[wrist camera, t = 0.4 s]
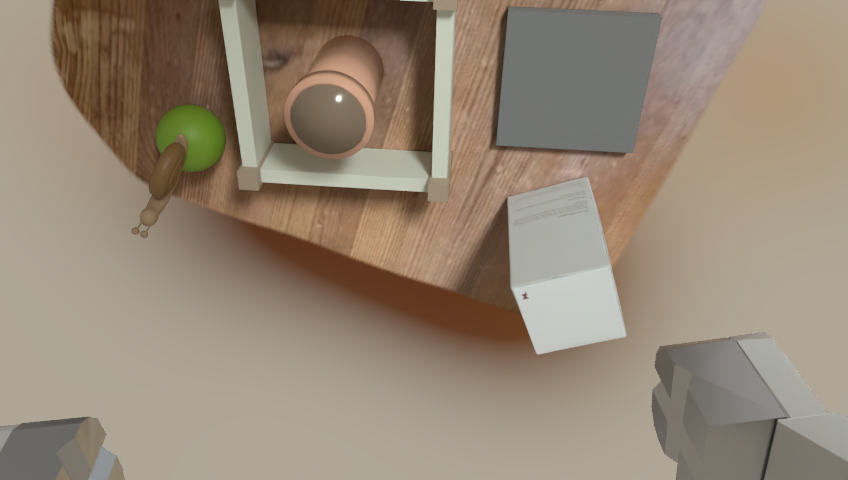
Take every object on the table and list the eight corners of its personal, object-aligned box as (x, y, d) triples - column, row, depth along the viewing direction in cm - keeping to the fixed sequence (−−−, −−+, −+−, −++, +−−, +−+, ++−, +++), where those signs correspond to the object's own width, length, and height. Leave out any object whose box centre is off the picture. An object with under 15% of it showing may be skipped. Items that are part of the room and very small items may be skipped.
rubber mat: (508, 6, 53) (508, 10, 52) (659, 13, 53) (661, 17, 52) (496, 139, 60) (496, 145, 59) (630, 147, 59) (632, 152, 58)
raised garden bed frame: (230, -47, 52) (206, -25, 48) (461, -37, 52) (458, -14, 47) (257, 156, 62) (239, 189, 58) (451, 167, 61) (447, 202, 57)
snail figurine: (162, 146, 62) (101, 224, 53) (177, 83, 59) (114, 154, 49) (222, 169, 63) (173, 250, 54) (240, 109, 60) (191, 184, 50)
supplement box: (527, 260, 67) (533, 357, 56) (505, 194, 63) (507, 286, 52) (607, 242, 65) (628, 339, 54) (590, 173, 61) (610, 265, 50)
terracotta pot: (308, 28, 55) (279, 76, 48) (388, 32, 55) (371, 80, 48) (313, 102, 59) (287, 157, 51) (389, 107, 59) (373, 162, 51)
